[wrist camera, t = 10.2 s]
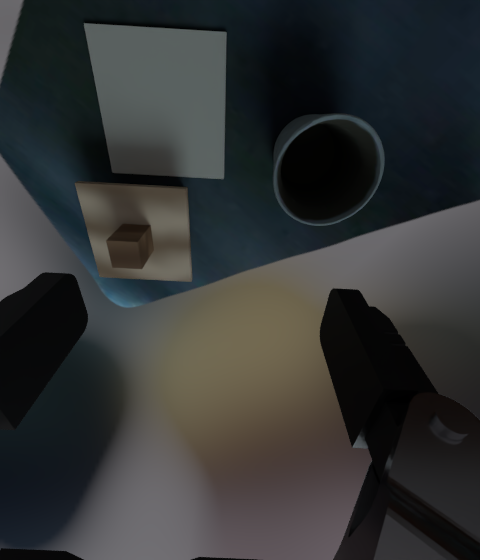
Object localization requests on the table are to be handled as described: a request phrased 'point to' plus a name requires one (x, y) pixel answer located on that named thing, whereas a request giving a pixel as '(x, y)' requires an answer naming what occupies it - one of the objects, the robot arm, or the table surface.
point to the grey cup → (326, 167)
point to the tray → (161, 98)
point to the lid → (138, 230)
